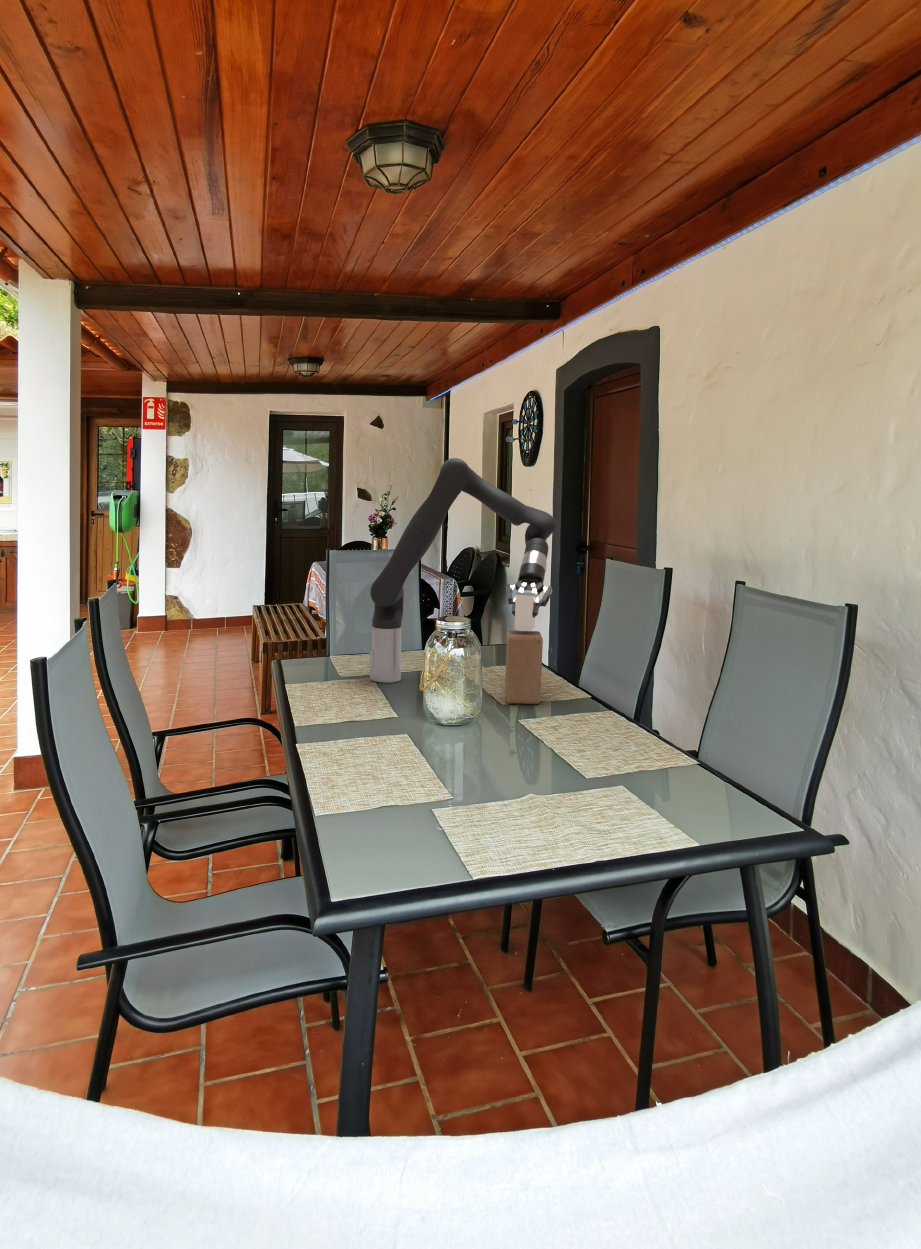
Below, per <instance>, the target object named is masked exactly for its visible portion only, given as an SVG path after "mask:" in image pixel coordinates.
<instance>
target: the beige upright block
mask: <svg viewBox="0 0 921 1249" xmlns="http://www.w3.org/2000/svg"><path fill="white" fill-rule="evenodd" d="M535 594H536V591H528V590H518V591H517V590H516V591H515V596H516V602H515V612H516V613H515V616H514V630H516V631H534V629H535V628H536V626H535V625H536V617H535V618H533V615H532V612H533V607H534V603H535Z"/></svg>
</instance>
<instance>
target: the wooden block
mask: <svg viewBox="0 0 921 1249" xmlns="http://www.w3.org/2000/svg"><path fill="white" fill-rule="evenodd" d="M543 641H544V640H543V637H542V634H541V631H538V630H512V629H511V630H508V631H507V632H506V646H505V647H506V649H505V650H506V651H505V654H506V655H505V678H504V679H505V680H504V681H505V683H504V698H505V701H506V703H507V704H518V705H521V704H522V705H523V704H525V705H538V704H540V702H541V695H542V694H541V693H542V669H543V648H544V646H543V645H544V644H543V643H544V642H543Z"/></svg>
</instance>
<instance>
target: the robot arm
mask: <svg viewBox="0 0 921 1249" xmlns="http://www.w3.org/2000/svg"><path fill="white" fill-rule="evenodd" d="M463 492H464V493H465V494H467V495H469V496H471V497H473V498H475V499H476V500H477V501H479V502H480V503H482V504H483V505H484V506H486V507H487V508H488V509H490V510H491V511H492V512H493V513H495V514H496V515H498V516H499V517H500V518H502V519H504V520H506V521H507V522H508V523H510V524H512V525H513V526H516V527H519V526H521V525H522V524H523V525H524V524H528V526H527V527H526V528H525V533H524V544H525V548H524V553H523V557H522V561H521V564H520V569H519V573H518V577H517V582H516V583H515V584H512V585H511V584H510V583H506V584H505V587H506V588H505V589H506V598H507V604H509V605H512V606H511V614H512V615H513V617H515V613H516V612H515V602H516V595H515V596H514V597H513V595H512V594H513V593H514V592H515V590H516V592H517V591H518V590H528V591H536V594H535V603H534V607H533V612H532V615H533V618H535V619H536V617H537V616H539V610H540V607H547V605H548V602H549V601H550V598H551V597H552V595H553V588H552V586H551V585H548V586H545V585H544V582H545V575H546V572H547V562H548V556H549V544H548V543H547V539H548V538H549V537H550V536H552V534H553V533H554V532H555V530H556V529H557V522H556V519H555V518H554V517H553V516H552V514H550V513H548V512H546V511H543V510H541V509H539V508H538V509H537V508H535V507H532V506H529V505H526V504H525V503H523V502H521V501H520V500H518V499H517V498H515V497H514V496H512V495H510V494H508V493H507V492H505V491H503V490H502V489H500V488H498V487H496V486H495V485H493V484H492V483H490V482H489V481H486V480H485V479H484V478H482V477H481V476H480V475H478V473H476V472H475V470H473V469H472V468H471V467H470V466H469V465H468V464H467V463H466V461H465V460H463V459H461V458H458V457H452V458H448V459H447V460H445V461H444V462H443V464H441V467H440V470H439V474H438V476H437V478H436V480H435V483H434V484H433V487H432V489H431V491H430V493H429V495H428V496H427V497H426V499H425V500H424V502H423V503H422V504H421V505H420V506H419V507H418V509H417V510H416V512H415V513H414V514H413V516H412V517H411V519H410V521H409V522H408V524H407V526H406V527H405V530H403V532H402V534H401V537H400V538H399V540H398V542H397V544H396V546H395V549H394V551H393V553H392V554H391V557H390V559H389V560H388V562H387V563H386V565H385V567H384V568H383V569H382V571H381V573H380V574H379V575H378V576H377V577H376V579H375V580H374V581H373V583H372V584H371V587H370V598H371V600H372V602H373V603H374V611H373V615H372V618H371V619H372V620H371V621H372V622H371V624H372V626H371V631H372V632H371V633H372V634H371V635H372V636H371V650H370V651H369V681H373V682H375V683H390V684H391V683H396V682H399V681H401V680H402V621H403V616H404V615H403V614H404V584H405V582H406V580H407V578H408V576H409V575H410V573H411V572H412V570H413V569H414V567H416V565H418V563H419V562H420V561H421V560H422V558H423V557H424V555H425V554H426V553H427V551H428V550H429V549H430V548H431V546H432V544H433V542H434V540H435V539H436V537H437V535H438V533H439V531H440V530H441V528H442V525H443V523H444V521H445V519H446V517H447V514H448V513H449V510H450V508H451V507H452V506H453V504H454V502H455V501H456V499H457V498H458V497H459V495H460V494H461V493H463ZM542 592H543V596H542V597H541V599H539V595H540V594H541V593H542Z"/></svg>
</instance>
